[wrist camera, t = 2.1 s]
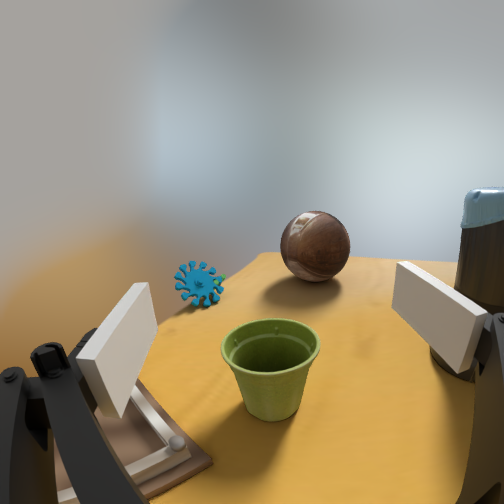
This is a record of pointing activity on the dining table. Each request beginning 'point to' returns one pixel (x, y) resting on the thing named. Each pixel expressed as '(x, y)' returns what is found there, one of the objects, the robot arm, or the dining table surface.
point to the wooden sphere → (315, 246)
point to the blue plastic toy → (199, 283)
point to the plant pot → (271, 364)
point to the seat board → (143, 448)
